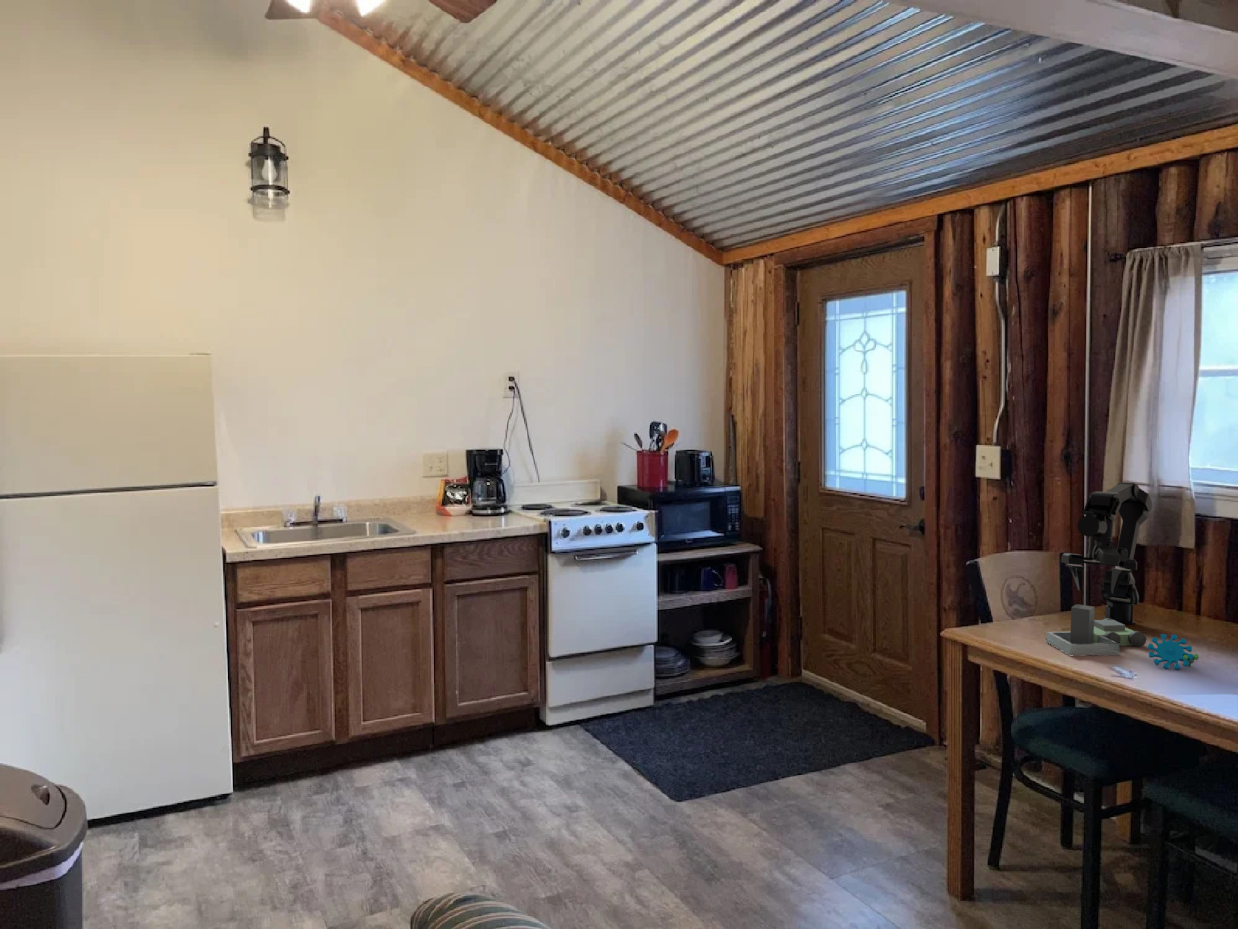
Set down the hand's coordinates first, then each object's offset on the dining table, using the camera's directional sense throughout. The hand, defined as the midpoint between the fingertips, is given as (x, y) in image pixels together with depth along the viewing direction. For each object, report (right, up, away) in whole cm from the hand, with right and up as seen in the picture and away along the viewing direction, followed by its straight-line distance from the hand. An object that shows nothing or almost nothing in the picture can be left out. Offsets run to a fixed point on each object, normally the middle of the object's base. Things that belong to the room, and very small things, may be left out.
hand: (1096, 592), depth 266 cm
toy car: (+1, -13, -4) cm, 13 cm away
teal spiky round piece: (+4, -15, -29) cm, 33 cm away
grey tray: (-11, -14, -13) cm, 22 cm away
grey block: (-11, -13, -13) cm, 21 cm away
